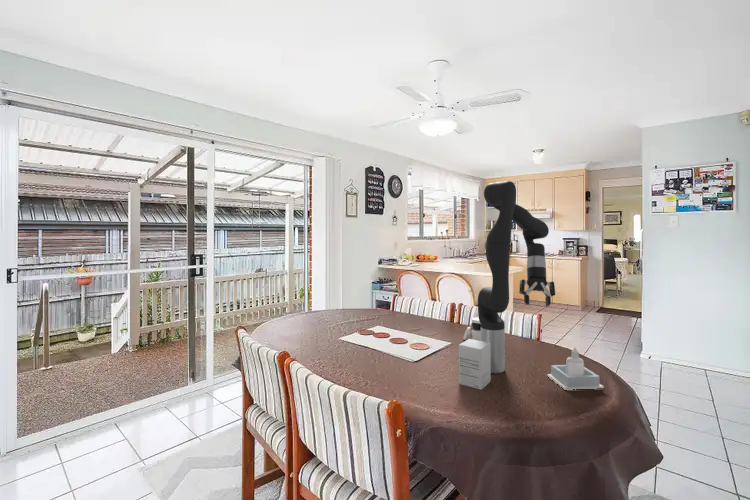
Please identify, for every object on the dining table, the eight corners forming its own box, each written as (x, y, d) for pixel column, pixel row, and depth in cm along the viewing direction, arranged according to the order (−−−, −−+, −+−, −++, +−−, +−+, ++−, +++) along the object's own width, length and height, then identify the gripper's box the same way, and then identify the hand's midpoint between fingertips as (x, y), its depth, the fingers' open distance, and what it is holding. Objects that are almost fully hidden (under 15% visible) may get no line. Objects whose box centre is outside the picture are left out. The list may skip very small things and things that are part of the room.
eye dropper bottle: (581, 383, 132) (581, 350, 131) (564, 379, 136) (564, 347, 135) (585, 380, 135) (585, 348, 134) (568, 375, 139) (569, 344, 138)
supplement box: (468, 375, 143) (468, 338, 142) (491, 381, 138) (491, 342, 137) (458, 383, 136) (457, 344, 135) (481, 390, 131) (481, 349, 130)
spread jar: (489, 345, 179) (489, 321, 178) (466, 345, 179) (466, 321, 179) (483, 337, 191) (483, 315, 190) (461, 337, 191) (461, 315, 191)
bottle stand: (564, 390, 129) (564, 378, 129) (547, 376, 141) (547, 365, 141) (603, 389, 129) (603, 376, 129) (583, 375, 141) (583, 363, 141)
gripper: (523, 264, 156) (524, 303, 152) (557, 267, 156) (558, 305, 152) (516, 268, 163) (517, 304, 160) (548, 270, 163) (550, 307, 159)
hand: (537, 305), depth 156 cm, fingers open, 8 cm apart
